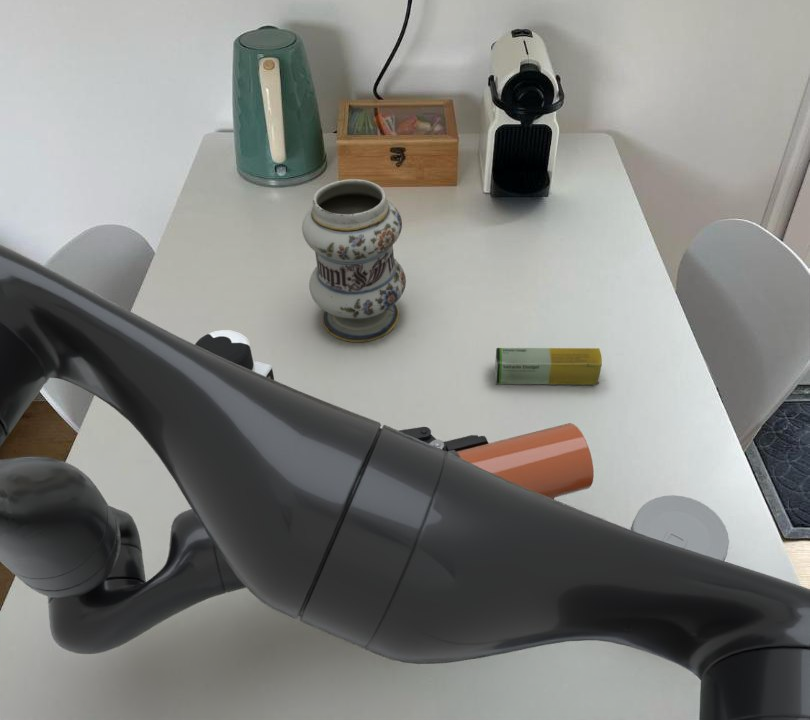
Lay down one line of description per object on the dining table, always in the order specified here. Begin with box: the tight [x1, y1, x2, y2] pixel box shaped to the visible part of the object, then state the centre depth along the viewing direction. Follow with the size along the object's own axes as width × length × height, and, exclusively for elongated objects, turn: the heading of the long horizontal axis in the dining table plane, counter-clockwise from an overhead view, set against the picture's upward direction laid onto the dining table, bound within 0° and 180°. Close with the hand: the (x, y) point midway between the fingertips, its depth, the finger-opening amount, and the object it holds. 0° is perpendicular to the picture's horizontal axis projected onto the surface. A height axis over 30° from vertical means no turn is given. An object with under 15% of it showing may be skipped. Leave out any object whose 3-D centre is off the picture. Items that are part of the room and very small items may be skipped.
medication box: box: [494, 347, 603, 386], centre depth 94 cm, size 12×3×4 cm, turn 87°
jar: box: [447, 422, 595, 499], centre depth 69 cm, size 12×6×6 cm, turn 107°
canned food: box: [630, 494, 730, 562], centre depth 70 cm, size 8×8×11 cm
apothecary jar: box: [301, 178, 407, 343], centre depth 99 cm, size 12×12×18 cm
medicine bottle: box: [195, 329, 275, 380], centre depth 88 cm, size 7×7×12 cm
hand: (500, 474), depth 68 cm, fingers closed on jar, 6 cm apart
